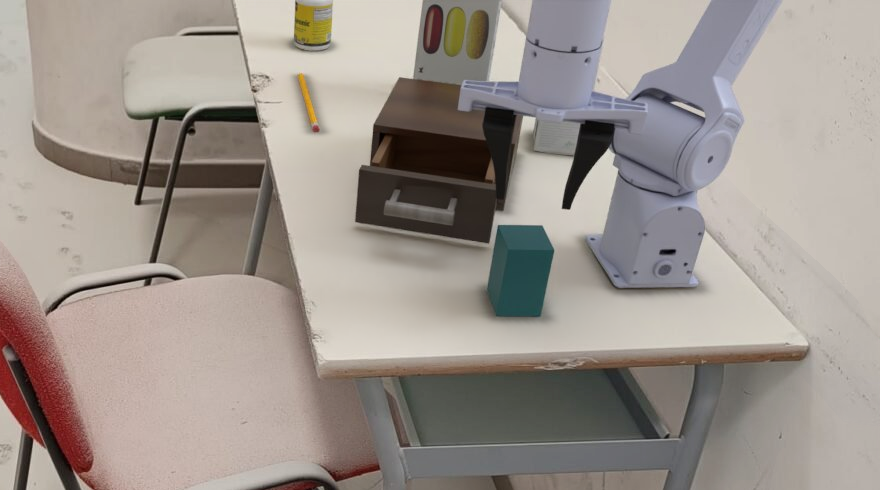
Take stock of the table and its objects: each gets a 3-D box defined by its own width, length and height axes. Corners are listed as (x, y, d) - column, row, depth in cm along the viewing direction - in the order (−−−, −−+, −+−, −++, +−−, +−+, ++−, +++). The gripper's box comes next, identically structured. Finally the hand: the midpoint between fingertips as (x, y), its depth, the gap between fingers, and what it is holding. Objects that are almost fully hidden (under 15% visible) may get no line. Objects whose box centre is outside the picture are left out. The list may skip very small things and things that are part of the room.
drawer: (483, 265, 95) (493, 210, 92) (345, 242, 98) (349, 188, 94) (503, 185, 109) (511, 135, 106) (381, 167, 112) (386, 117, 109)
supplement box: (407, 108, 128) (422, -28, 119) (417, 83, 136) (431, -47, 126) (483, 117, 127) (504, -20, 117) (488, 91, 134) (508, -40, 124)
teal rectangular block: (540, 316, 90) (554, 249, 86) (496, 316, 89) (508, 249, 86) (529, 290, 93) (542, 225, 89) (486, 289, 93) (497, 224, 89)
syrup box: (582, 157, 118) (608, 34, 109) (530, 151, 119) (553, 28, 110) (580, 137, 122) (605, 18, 114) (530, 132, 123) (552, 13, 115)
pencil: (312, 132, 122) (313, 127, 121) (297, 78, 137) (297, 73, 136) (319, 132, 122) (319, 127, 121) (303, 78, 137) (303, 73, 136)
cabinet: (503, 211, 106) (515, 144, 102) (367, 190, 109) (373, 124, 105) (516, 155, 118) (527, 93, 113) (393, 138, 121) (399, 76, 116)
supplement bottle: (287, 41, 148) (289, -27, 143) (320, 37, 150) (323, -31, 145) (303, 53, 144) (306, -17, 139) (337, 49, 146) (341, -20, 141)
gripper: (462, 45, 76) (441, 206, 84) (662, 69, 73) (621, 234, 81) (474, 18, 82) (453, 171, 89) (660, 39, 79) (622, 196, 86)
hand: (533, 199), depth 85 cm, fingers open, 5 cm apart
